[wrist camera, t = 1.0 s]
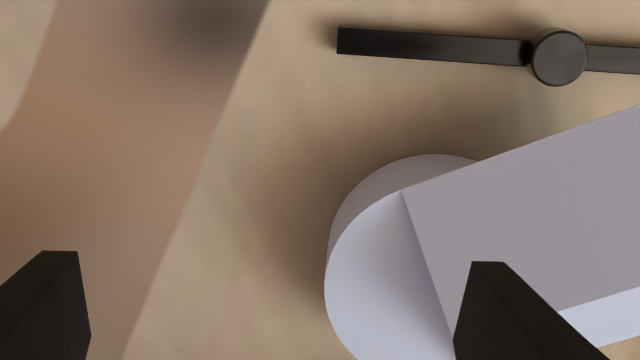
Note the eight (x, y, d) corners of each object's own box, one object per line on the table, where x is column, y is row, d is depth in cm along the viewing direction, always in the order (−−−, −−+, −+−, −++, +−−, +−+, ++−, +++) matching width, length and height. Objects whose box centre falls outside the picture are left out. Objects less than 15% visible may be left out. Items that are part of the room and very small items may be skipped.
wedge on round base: (601, 84, 24) (295, 197, 26) (690, 130, 18) (277, 273, 20) (652, 276, 26) (371, 363, 29) (746, 376, 20) (375, 477, 22)
